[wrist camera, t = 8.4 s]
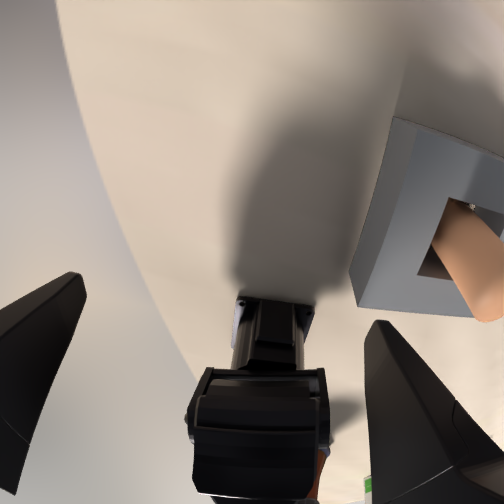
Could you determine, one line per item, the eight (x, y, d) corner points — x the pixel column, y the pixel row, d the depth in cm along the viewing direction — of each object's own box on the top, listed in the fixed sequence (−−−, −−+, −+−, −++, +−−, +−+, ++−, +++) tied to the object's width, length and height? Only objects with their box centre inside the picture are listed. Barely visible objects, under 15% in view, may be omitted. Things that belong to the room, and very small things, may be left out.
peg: (452, 243, 21) (504, 323, 14) (411, 234, 21) (460, 320, 14) (470, 198, 19) (537, 268, 11) (429, 185, 19) (495, 259, 11)
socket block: (466, 288, 23) (483, 318, 20) (348, 271, 23) (357, 307, 20) (519, 165, 17) (549, 185, 13) (393, 116, 17) (417, 129, 13)
